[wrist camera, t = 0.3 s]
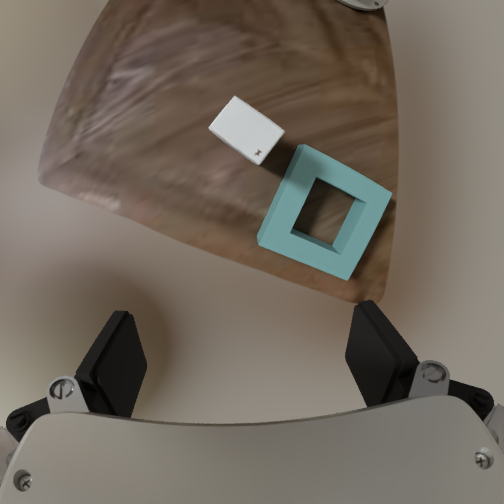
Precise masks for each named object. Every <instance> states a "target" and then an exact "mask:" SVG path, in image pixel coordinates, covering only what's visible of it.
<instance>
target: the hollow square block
mask: <svg viewBox="0 0 504 504" xmlns="http://www.w3.org/2000/svg"><path fill="white" fill-rule="evenodd" d="M315 178H318V179H320V180H322V181H324V182H326V183H328V184H330V185H332V186H334V187H336V188H338V189H340V190H342V191H344V192H345V193H347V194H349V195H351V196H353V197H355V200H354V203H353V205H352V207H351V209H350V211H349V213H348V215H347V217H346V219H345V221H344V223H343V225H342V227H341V229H340V231H339V233H338V235H337V237H336V239H335V241H334V243H333V245H332V246H331V245H329V244H327V243H325V242H322V241H320V240H318V239H316V238H313V237H311V236H309V235H306V234H304V233H302V232H300V231H297V230H295V229H293V228H292V227H293V225H294V223H295V221H296V219H297V217H298V215H299V213H300V211H301V208H302V206H303V204H304V202H305V200H306V198H307V196H308V194H309V191H310V189H311V187H312V185H313V183H314V181H315ZM391 195H392V193H391V192H389V191H388V190H386V189H384V188H383V187H381V186H380V185H378V184H376V183H375V182H373V181H371V180H370V179H368V178H366V177H365V176H363V175H361V174H359V173H358V172H356V171H354V170H352V169H351V168H349V167H347V166H345V165H343V164H342V163H340V162H338V161H336V160H334V159H332V158H330V157H329V156H327V155H325V154H323V153H321V152H319V151H317V150H315V149H313V148H311V147H309V146H307V145H298V147H297V149H296V151H295V153H294V155H293V157H292V160H291V162H290V164H289V166H288V168H287V171H286V173H285V175H284V177H283V179H282V182H281V184H280V186H279V188H278V190H277V193H276V195H275V197H274V199H273V201H272V204H271V206H270V208H269V210H268V212H267V215H266V217H265V219H264V221H263V223H262V226H261V228H260V230H259V232H258V234H257V239H258V244H259V245H260V246H262V247H265V248H267V249H270V250H272V251H275V252H277V253H280V254H282V255H285V256H287V257H290V258H292V259H295V260H297V261H300V262H302V263H305V264H307V265H310V266H312V267H315V268H317V269H320V270H322V271H325V272H327V273H330V274H332V275H335V276H337V277H339V278H342V279H344V280H347V281H348V279H349V277H350V276H351V274H352V272H353V270H354V268H355V267H356V265H357V263H358V261H359V259H360V258H361V256H362V254H363V252H364V250H365V248H366V246H367V244H368V242H369V241H370V239H371V237H372V235H373V233H374V231H375V229H376V227H377V225H378V223H379V221H380V219H381V217H382V215H383V212H384V210H385V208H386V206H387V204H388V202H389V200H390V198H391Z"/></svg>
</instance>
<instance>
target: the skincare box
mask: <svg viewBox="0 0 504 504" xmlns="http://www.w3.org/2000/svg"><path fill="white" fill-rule="evenodd" d="M209 130H210V131H212V132H213V133H214V134H215V135H216V136H217V137H218V138H219V139H221V140H222V141H223V142H225V143H226V144H227V145H229V146H230V147H232V148H233V149H234V150H236V151H237V152H239V153H240V154H242V155H243V156H244V157H246V158H247V159H249V160H250V161H251V162H253V163H255V164H257V165H260V164H261V163H262V162H263V160H264V159H265V158H266V156H267V155H268V154H269V152H270V151H271V150H272V148H273V147H274V146H275V144H276V143H277V142H278V141H279V139H280V138H281V137H282V135H283V134H284V133H285V131H284V130H283V129H281V128H280V127H279V126H278V125H276V124H275V123H274V122H273V121H271V120H270V119H269V118H267V117H266V116H264V115H263V114H261V113H260V112H258V111H257V110H255V109H254V108H253V107H251V106H250V105H248V104H247V103H245V102H244V101H242V100H241V99H239V98H238V97H236V96H234V97H233V98H232V99H231V101H230V102H229V103H228V104H227V105H226V106H225V108H224V109H223V110H222V111H221V112H220V114H219V115H218V116H217V117H216V119H215V120H214V121H213V122H212V124H211V125H210V126H209Z"/></svg>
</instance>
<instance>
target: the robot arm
mask: <svg viewBox="0 0 504 504" xmlns="http://www.w3.org/2000/svg"><path fill="white" fill-rule="evenodd" d="M337 1H339V2H341V3H342V4H344V5H347V6H349V7H352V8H355V9H359V10H365V11H372V10H377V9H380V8H381V7H383V6H384V5H385V4H386V3H387V1H388V0H337ZM345 359H346V362H347V364H348V366H349V368H350V370H351V373H352V375H353V377H354V379H355V381H356V383H357V385H358V388H359V390H360V392H361V394H362V396H363V398H364V401H365V403H366V405H367V408H362V409H357V410H352V411H347V412H342V413H336V414H331V415H324V416H317V417H310V418H303V419H294V420H285V421H273V422H259V423H236V424H235V423H234V424H204V423H178V422H164V421H152V420H144V419H135V418H131V415H132V412H133V409H134V405H135V402H136V399H137V396H138V393H139V390H140V387H141V384H142V381H143V379H144V376H145V373H146V370H147V362H146V359H145V355H144V352H143V349H142V346H141V342H140V339H139V335H138V332H137V328H136V325H135V321H134V317H133V315H132V314H129V312H128V311H114V312H113V314H112V316H111V317H110V319H109V320H108V321H107V323H106V325H105V326H104V328H103V329H102V331H101V332H100V334H99V335H98V337H97V338H96V340H95V342H94V343H93V345H92V346H91V348H90V350H89V351H88V353H87V354H86V356H85V358H84V359H83V361H82V363H81V365H80V366H79V368H78V369H77V371H76V375H75V377H74V378H73V377H70V376H61V377H58V378H56V379H54V380H53V381H51V382H50V384H49V385H48V386H47V389H46V395H47V397H45V398H43V399H41V400H38V401H36V402H34V403H31V404H29V405H26V406H24V407H21V408H19V409H17V410H15V411H13V412H12V413H11V414H10V415H9V416H8V418H7V421H6V428H3V426H1V427H0V504H504V407H503V406H502V405H500V404H497V406H495V405H494V400H493V398H492V396H491V395H490V393H489V392H487V391H486V390H483V389H481V388H477V387H474V386H470V385H467V384H464V383H460V382H457V381H454V380H450V373H449V371H448V369H447V367H445V365H443V364H442V363H440V362H437V361H433V360H426V361H423V362H421V363H420V362H419V361H418V359H417V356H416V355H415V353H414V352H413V351H412V349H411V348H410V347H409V345H408V344H407V343H406V342H405V340H404V339H403V338H402V336H401V335H400V334H399V333H398V331H397V330H396V329H395V327H394V326H393V325H392V324H391V323H390V321H389V320H388V319H387V317H386V316H385V315H384V314H383V313H382V311H381V310H380V309H379V308H378V307H377V305H376V304H375V303H374V301H372V300H369V301H360V302H359V303H358V305H356V306H355V307H354V313H353V318H352V323H351V328H350V334H349V338H348V343H347V348H346V353H345Z"/></svg>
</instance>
